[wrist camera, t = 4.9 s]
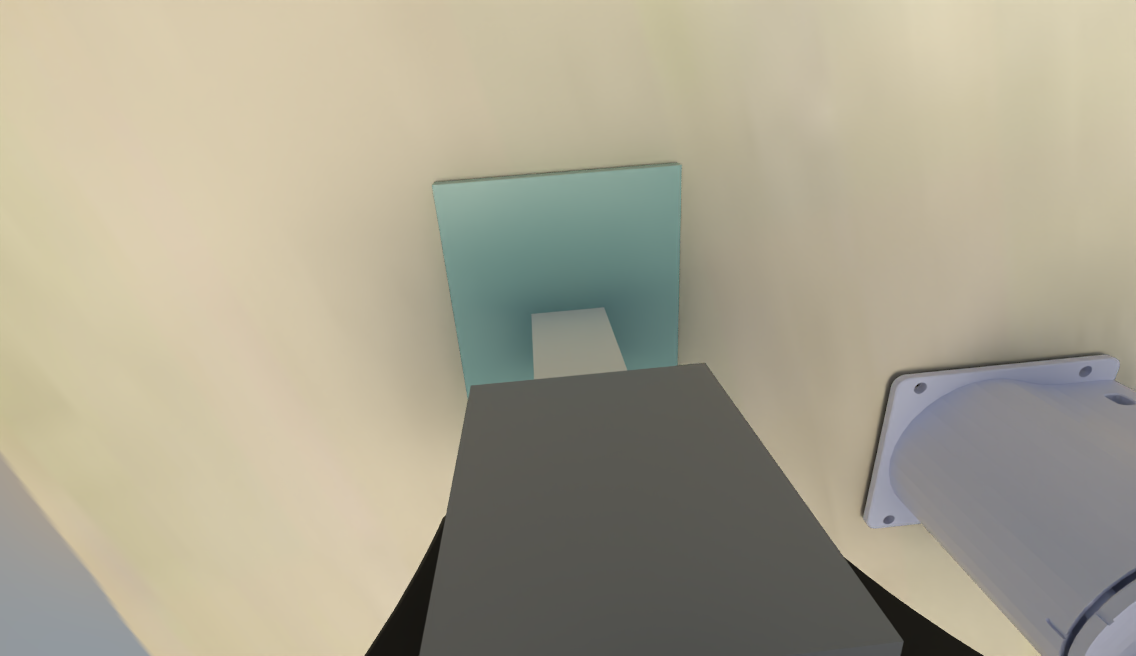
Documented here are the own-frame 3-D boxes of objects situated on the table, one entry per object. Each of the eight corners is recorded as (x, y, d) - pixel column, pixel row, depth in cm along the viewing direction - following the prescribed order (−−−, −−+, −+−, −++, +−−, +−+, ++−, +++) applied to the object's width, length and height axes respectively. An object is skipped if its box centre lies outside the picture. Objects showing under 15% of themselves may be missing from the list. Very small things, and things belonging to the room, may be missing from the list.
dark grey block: (705, 362, 12) (903, 641, 6) (699, 542, 14) (842, 896, 8) (470, 385, 12) (410, 701, 6) (498, 565, 14) (477, 949, 7)
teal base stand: (676, 162, 18) (746, 198, 12) (671, 454, 23) (719, 572, 17) (434, 181, 18) (395, 227, 12) (482, 474, 23) (470, 601, 17)
